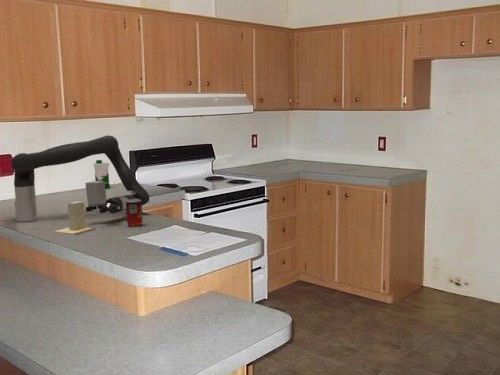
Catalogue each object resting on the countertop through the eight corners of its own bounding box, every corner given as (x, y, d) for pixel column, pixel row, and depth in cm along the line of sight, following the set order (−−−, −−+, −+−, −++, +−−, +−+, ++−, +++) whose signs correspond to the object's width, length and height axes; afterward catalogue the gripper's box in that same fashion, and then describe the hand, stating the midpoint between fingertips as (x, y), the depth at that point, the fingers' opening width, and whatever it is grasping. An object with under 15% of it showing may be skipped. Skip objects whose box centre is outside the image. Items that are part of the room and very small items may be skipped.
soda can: (143, 226, 241) (141, 199, 239) (127, 227, 239) (126, 201, 237) (142, 223, 248) (140, 197, 246) (126, 224, 246) (125, 198, 244)
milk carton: (103, 187, 376) (101, 159, 374) (112, 188, 371) (110, 160, 369) (93, 189, 369) (91, 160, 366) (102, 189, 364) (100, 161, 361)
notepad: (54, 232, 233) (54, 230, 233) (73, 227, 243) (73, 226, 243) (77, 234, 227) (77, 233, 227) (95, 229, 237) (95, 228, 237)
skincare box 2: (108, 209, 287) (106, 180, 285) (99, 211, 281) (97, 182, 278) (95, 208, 291) (94, 180, 288) (86, 210, 284) (84, 181, 282)
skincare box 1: (77, 230, 233) (75, 203, 232) (69, 230, 235) (67, 203, 233) (86, 227, 239) (84, 201, 238) (78, 227, 241) (76, 200, 239)
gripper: (105, 196, 258) (81, 201, 244) (128, 197, 252) (104, 203, 237) (106, 211, 259) (82, 217, 245) (129, 213, 253) (105, 219, 239)
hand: (93, 210), depth 241 cm, fingers open, 8 cm apart
